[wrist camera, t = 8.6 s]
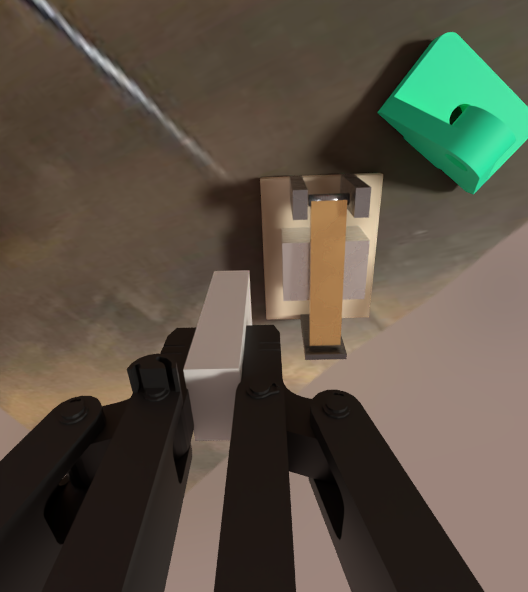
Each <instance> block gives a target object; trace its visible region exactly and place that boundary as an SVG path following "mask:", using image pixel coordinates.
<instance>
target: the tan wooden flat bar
mask: <svg viewBox="0 0 528 592" xmlns="http://www.w3.org/2000/svg"><path fill="white" fill-rule="evenodd" d="M349 203H350V194H349V193H331V194H308V206H310V286H309V344H310V346H319V345H340V342H341V322H342V301H343V281H344V260H345V240H346V219H347V205H349Z"/></svg>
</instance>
